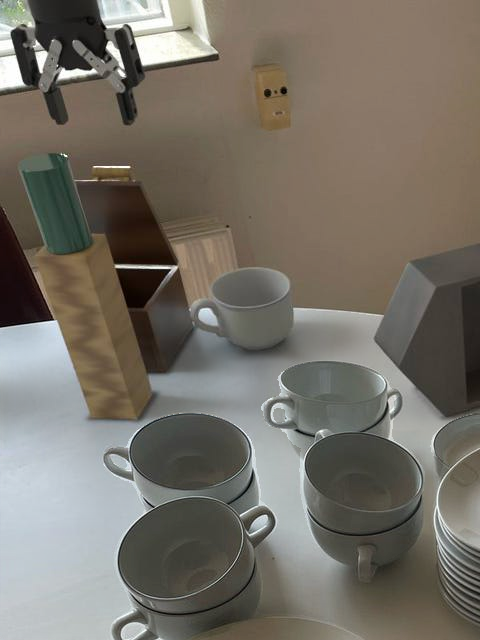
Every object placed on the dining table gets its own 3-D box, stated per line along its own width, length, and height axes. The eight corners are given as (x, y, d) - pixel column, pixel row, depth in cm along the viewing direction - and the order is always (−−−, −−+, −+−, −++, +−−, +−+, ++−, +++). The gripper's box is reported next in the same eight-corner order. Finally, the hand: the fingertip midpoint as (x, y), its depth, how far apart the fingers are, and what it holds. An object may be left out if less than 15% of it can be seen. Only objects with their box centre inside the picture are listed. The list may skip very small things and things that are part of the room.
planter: (391, 299, 111) (554, 255, 117) (365, 271, 116) (523, 231, 122) (405, 429, 123) (552, 384, 129) (380, 399, 128) (523, 357, 134)
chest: (164, 372, 134) (147, 311, 128) (88, 370, 135) (67, 309, 129) (193, 326, 143) (178, 266, 137) (122, 324, 144) (104, 265, 138)
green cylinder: (38, 254, 112) (9, 171, 106) (57, 234, 116) (30, 152, 110) (83, 255, 112) (56, 171, 105) (100, 235, 115) (75, 153, 109)
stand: (91, 418, 127) (33, 255, 112) (108, 392, 131) (55, 232, 116) (137, 419, 126) (85, 256, 112) (153, 393, 131) (105, 233, 116)
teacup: (291, 314, 145) (282, 260, 139) (306, 350, 137) (297, 295, 132) (194, 332, 142) (180, 278, 136) (204, 370, 134) (190, 314, 129)
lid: (139, 185, 124) (148, 154, 126) (57, 184, 125) (67, 153, 127) (177, 265, 136) (185, 236, 138) (102, 264, 137) (111, 234, 139)
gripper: (127, -41, 114) (162, 113, 125) (7, -41, 115) (52, 112, 126) (102, -25, 108) (142, 135, 120) (-23, -25, 110) (28, 133, 121)
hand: (96, 123), depth 123 cm, fingers open, 8 cm apart
